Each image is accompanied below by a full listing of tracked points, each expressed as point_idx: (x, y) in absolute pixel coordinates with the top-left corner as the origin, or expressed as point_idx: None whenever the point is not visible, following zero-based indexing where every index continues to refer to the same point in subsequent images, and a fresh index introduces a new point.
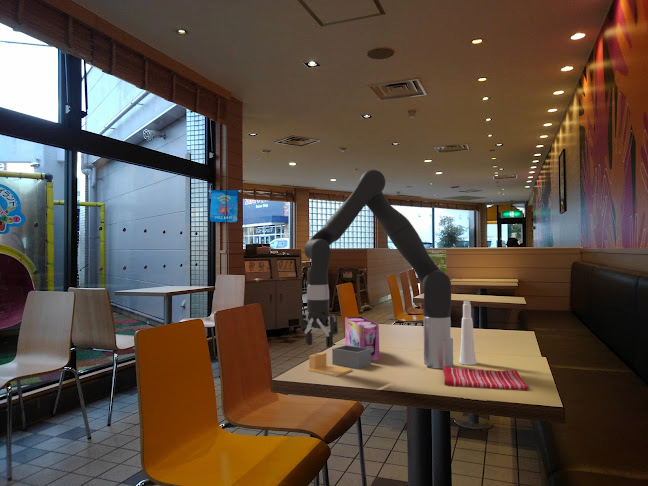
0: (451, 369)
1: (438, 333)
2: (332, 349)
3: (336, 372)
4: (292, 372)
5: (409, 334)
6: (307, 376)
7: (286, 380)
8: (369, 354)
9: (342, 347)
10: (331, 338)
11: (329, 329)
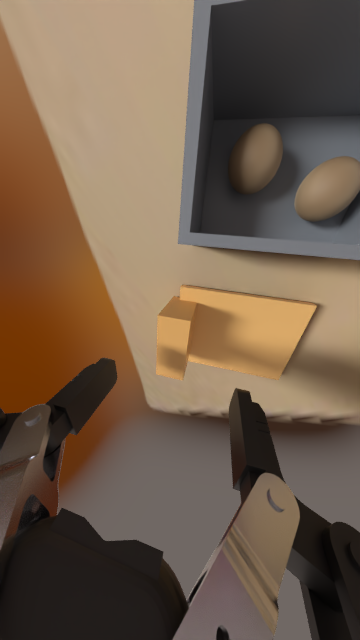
0: None
1: None
2: (180, 243)
3: (269, 362)
4: (142, 362)
5: None
6: (193, 377)
7: (174, 409)
8: None
9: (202, 106)
10: (267, 459)
11: (258, 571)
